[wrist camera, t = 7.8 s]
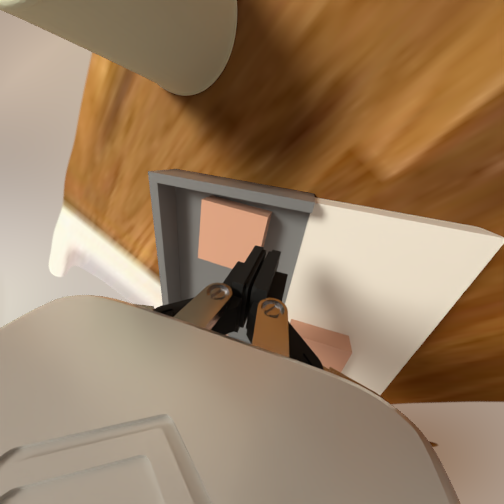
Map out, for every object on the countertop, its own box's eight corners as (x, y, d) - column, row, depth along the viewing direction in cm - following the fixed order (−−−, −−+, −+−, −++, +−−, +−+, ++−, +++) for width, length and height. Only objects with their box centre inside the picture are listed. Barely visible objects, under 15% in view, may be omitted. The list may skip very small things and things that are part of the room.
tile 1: (211, 195, 19) (201, 199, 17) (272, 211, 18) (267, 217, 16) (207, 249, 21) (197, 257, 20) (258, 266, 21) (253, 275, 19)
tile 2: (291, 318, 21) (289, 333, 19) (348, 335, 20) (352, 352, 18) (280, 353, 24) (277, 369, 22) (330, 370, 23) (332, 387, 21)
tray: (176, 168, 20) (148, 171, 17) (314, 193, 18) (314, 202, 14) (183, 314, 30) (166, 335, 26) (273, 343, 27) (267, 371, 24)
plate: (313, 197, 18) (313, 202, 16) (479, 227, 15) (507, 238, 13) (273, 342, 27) (270, 358, 25) (373, 374, 25) (379, 395, 22)
